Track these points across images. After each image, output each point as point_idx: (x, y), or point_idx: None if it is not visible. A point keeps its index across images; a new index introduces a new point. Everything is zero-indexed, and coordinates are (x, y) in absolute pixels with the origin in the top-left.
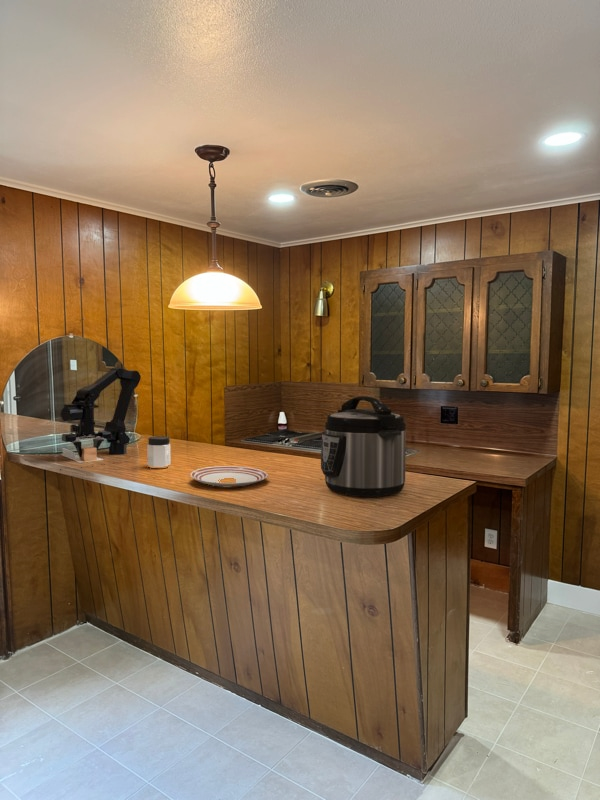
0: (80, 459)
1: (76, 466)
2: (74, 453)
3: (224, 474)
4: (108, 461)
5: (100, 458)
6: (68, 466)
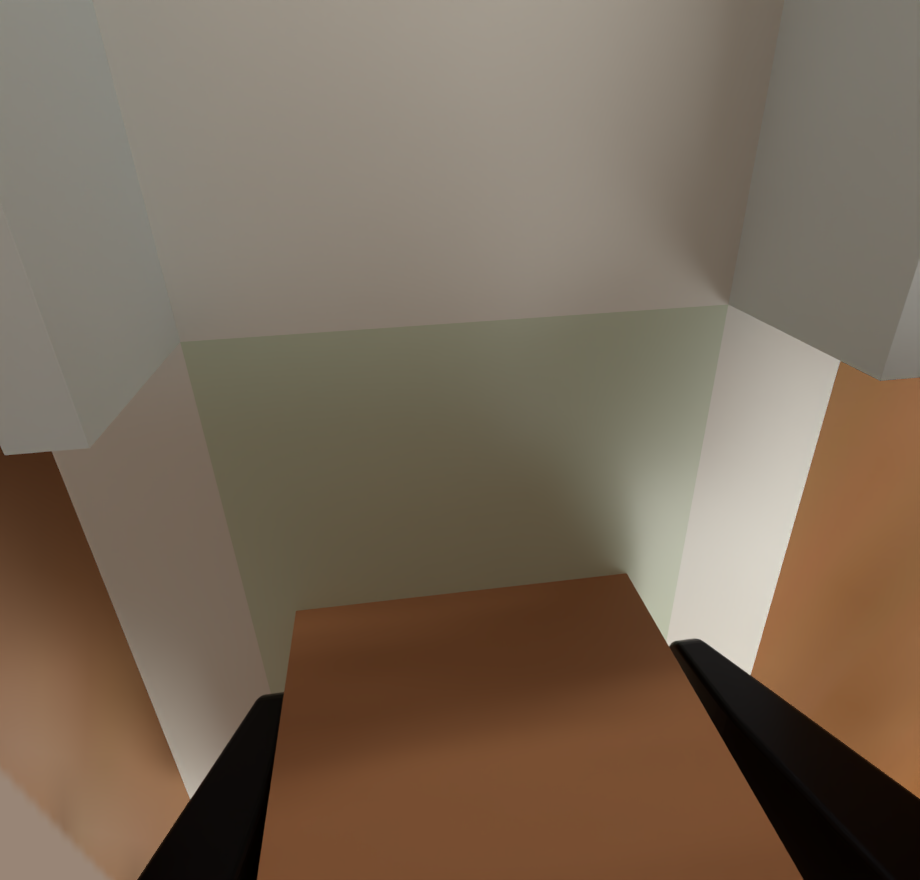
0: (299, 631)
1: (175, 790)
2: (79, 429)
3: None
4: (846, 599)
5: (748, 662)
6: (12, 750)
